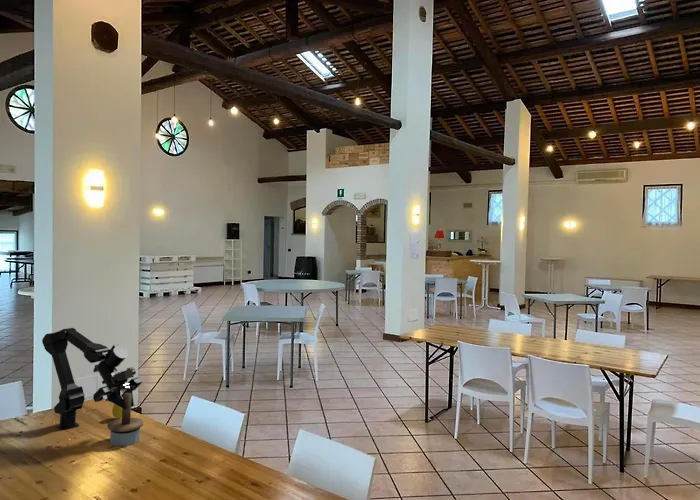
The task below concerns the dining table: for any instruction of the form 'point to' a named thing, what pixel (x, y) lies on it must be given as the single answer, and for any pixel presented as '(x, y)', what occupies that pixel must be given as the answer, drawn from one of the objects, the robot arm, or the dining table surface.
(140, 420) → the brown peg on base
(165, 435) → the dining table surface
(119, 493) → the dining table surface
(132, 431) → the bowl
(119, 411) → the lemon
